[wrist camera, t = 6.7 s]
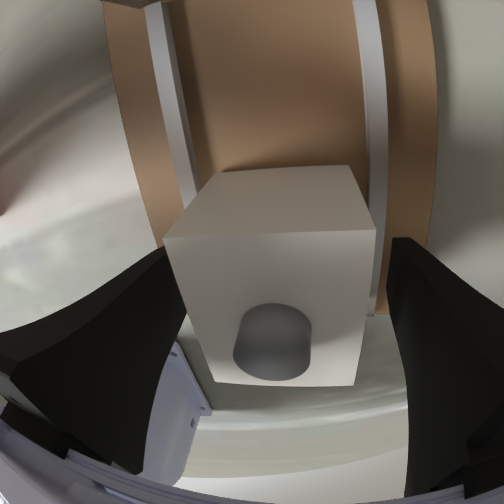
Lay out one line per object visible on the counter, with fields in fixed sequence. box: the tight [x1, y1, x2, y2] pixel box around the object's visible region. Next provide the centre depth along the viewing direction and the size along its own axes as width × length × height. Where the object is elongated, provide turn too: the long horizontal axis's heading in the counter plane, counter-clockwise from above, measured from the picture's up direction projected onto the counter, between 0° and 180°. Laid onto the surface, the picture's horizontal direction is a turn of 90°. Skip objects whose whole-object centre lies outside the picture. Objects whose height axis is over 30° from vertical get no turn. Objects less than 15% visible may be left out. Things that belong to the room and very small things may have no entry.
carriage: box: [162, 165, 376, 387], centre depth 9 cm, size 6×4×5 cm
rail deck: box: [102, 0, 437, 316], centre depth 8 cm, size 18×11×3 cm, turn 8°
